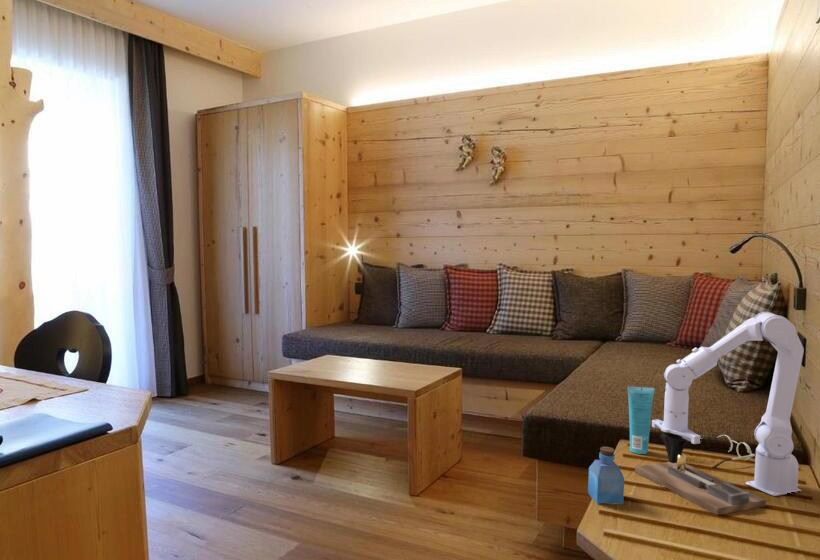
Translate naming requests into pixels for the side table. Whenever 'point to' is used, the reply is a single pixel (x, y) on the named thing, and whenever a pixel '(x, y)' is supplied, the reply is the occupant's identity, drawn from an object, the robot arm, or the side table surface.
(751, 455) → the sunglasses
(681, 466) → the bolt
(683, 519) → the side table surface
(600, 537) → the side table surface
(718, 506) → the door board
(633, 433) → the tube
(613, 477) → the perfume bottle
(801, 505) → the side table surface
